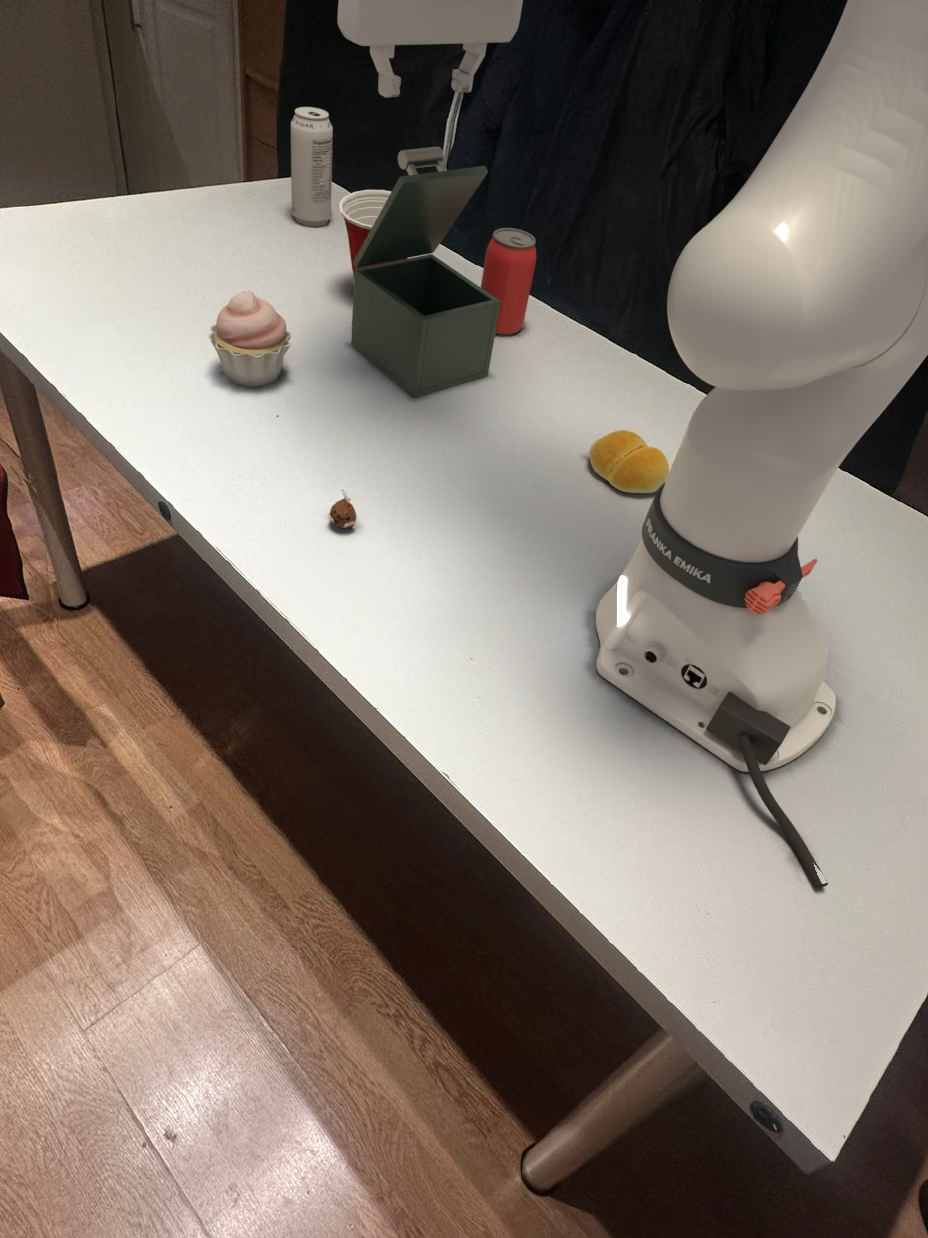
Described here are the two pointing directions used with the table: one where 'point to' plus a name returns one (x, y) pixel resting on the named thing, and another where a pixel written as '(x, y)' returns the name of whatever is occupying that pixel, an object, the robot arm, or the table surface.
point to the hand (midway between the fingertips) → (425, 93)
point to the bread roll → (629, 462)
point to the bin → (423, 323)
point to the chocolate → (343, 513)
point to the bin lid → (419, 208)
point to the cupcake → (250, 340)
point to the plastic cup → (361, 217)
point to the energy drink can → (311, 166)
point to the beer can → (510, 275)
